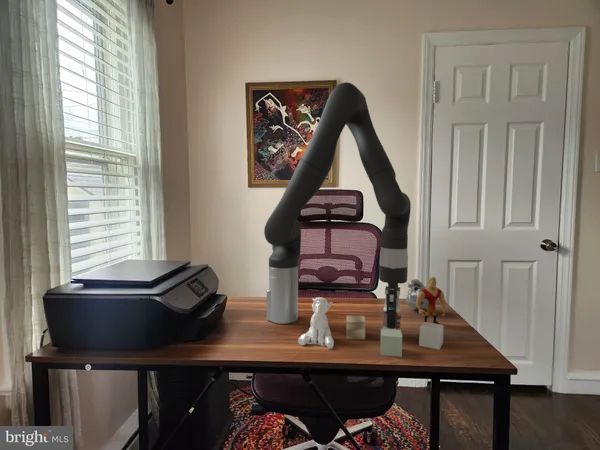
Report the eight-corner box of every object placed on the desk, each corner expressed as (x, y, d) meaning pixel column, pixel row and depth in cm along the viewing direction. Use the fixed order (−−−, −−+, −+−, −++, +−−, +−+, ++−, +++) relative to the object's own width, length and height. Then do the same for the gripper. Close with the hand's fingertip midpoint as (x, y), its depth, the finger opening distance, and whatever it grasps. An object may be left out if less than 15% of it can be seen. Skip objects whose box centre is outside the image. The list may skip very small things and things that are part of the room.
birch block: (346, 339, 97) (346, 321, 97) (346, 332, 102) (346, 315, 102) (365, 339, 96) (365, 322, 96) (363, 333, 101) (364, 316, 101)
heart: (442, 315, 115) (440, 278, 117) (414, 316, 114) (412, 279, 115) (426, 311, 125) (425, 277, 127) (401, 312, 124) (400, 278, 125)
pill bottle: (400, 335, 95) (402, 304, 95) (382, 333, 96) (383, 303, 96) (399, 328, 100) (400, 299, 99) (382, 327, 101) (383, 298, 100)
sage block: (380, 355, 87) (381, 335, 86) (380, 347, 92) (380, 328, 91) (401, 357, 86) (402, 337, 85) (400, 348, 91) (400, 329, 90)
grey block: (419, 345, 93) (419, 327, 92) (423, 339, 97) (424, 321, 96) (439, 350, 90) (439, 330, 90) (443, 343, 94) (443, 325, 94)
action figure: (419, 327, 106) (420, 277, 105) (414, 323, 110) (415, 275, 109) (449, 325, 107) (450, 277, 106) (442, 321, 111) (444, 274, 110)
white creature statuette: (297, 345, 92) (297, 300, 91) (305, 333, 101) (305, 292, 100) (332, 349, 90) (333, 303, 89) (338, 337, 98) (338, 294, 97)
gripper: (381, 259, 105) (379, 315, 106) (377, 267, 91) (375, 332, 92) (407, 260, 103) (405, 318, 104) (407, 269, 89) (405, 335, 90)
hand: (391, 324), depth 98 cm, fingers closed on pill bottle, 4 cm apart
